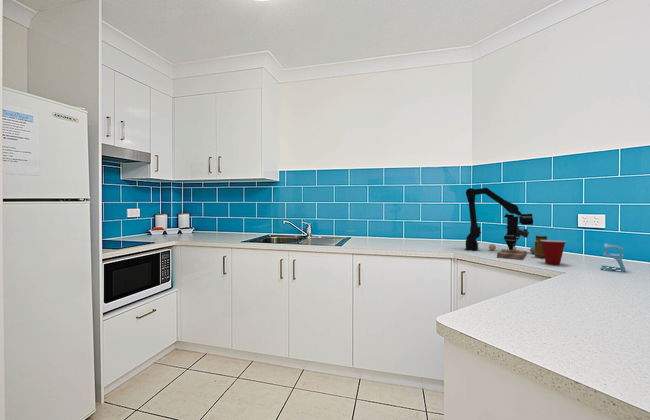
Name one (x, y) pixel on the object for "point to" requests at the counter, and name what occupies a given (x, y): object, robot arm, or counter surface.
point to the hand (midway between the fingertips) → (512, 250)
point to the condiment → (539, 247)
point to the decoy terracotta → (492, 247)
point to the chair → (616, 256)
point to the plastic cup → (553, 251)
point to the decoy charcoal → (532, 250)
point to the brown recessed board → (511, 254)
